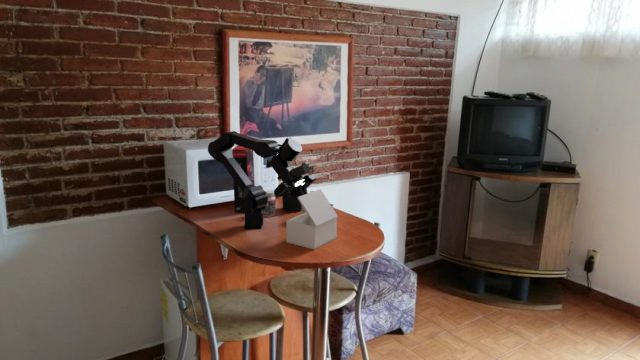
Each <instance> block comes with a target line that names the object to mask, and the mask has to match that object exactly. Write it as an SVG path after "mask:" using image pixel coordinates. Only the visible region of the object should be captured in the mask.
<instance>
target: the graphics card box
mask: <svg viewBox="0 0 640 360" xmlns="http://www.w3.org/2000/svg"><path fill="white" fill-rule="evenodd" d="M232 153H233V158H234V159H235V160H236V162H237V163H238V164H239V166H240V167H241V169H242V170H243V171H244V173H245V174H246V175H247V177H248V178H249V180H250V181H251V182H252V184H253V185H255V183H256V182H255V164H254V163H255V162H254V161H255V160H254V151H253V150H251V149H248V148H245V147H242V146H239V145H236V146H235V147H233V148H232ZM232 182H233V183H232V184H233V198H234V199H233V200H234V213H238V214H239V213H240V214H241V213H242V212H241V210H240V207H241V205H242V204H243V203H244V200H243V192H242V191H241V189H240V188H239V186H238V185H237V184H236V182H235V181H234V179H233V178H232ZM255 186H256V185H255ZM242 214H243V213H242Z"/></svg>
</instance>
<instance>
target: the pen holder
mask: <svg viewBox="0 0 640 360" xmlns="http://www.w3.org/2000/svg"><path fill="white" fill-rule="evenodd" d="M288 194H289V190H287V191H284V192H283V196H282V198H281V200H282V202H281V203H282V210H283V211H284V212H287V213H298V212H302V205H301V203H300V201H299V200H297V199H295V198H293V197H291V196H288Z"/></svg>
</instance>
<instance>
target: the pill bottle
mask: <svg viewBox="0 0 640 360" xmlns="http://www.w3.org/2000/svg"><path fill="white" fill-rule="evenodd" d="M264 191H265V192H267V193H266V195H267V197H268V202H267V204H266V207H265V209H264V210H262V214H263V217H267V218H270V217H275V216H276V213H277V211H276V196H275V195H274V190H264Z"/></svg>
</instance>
